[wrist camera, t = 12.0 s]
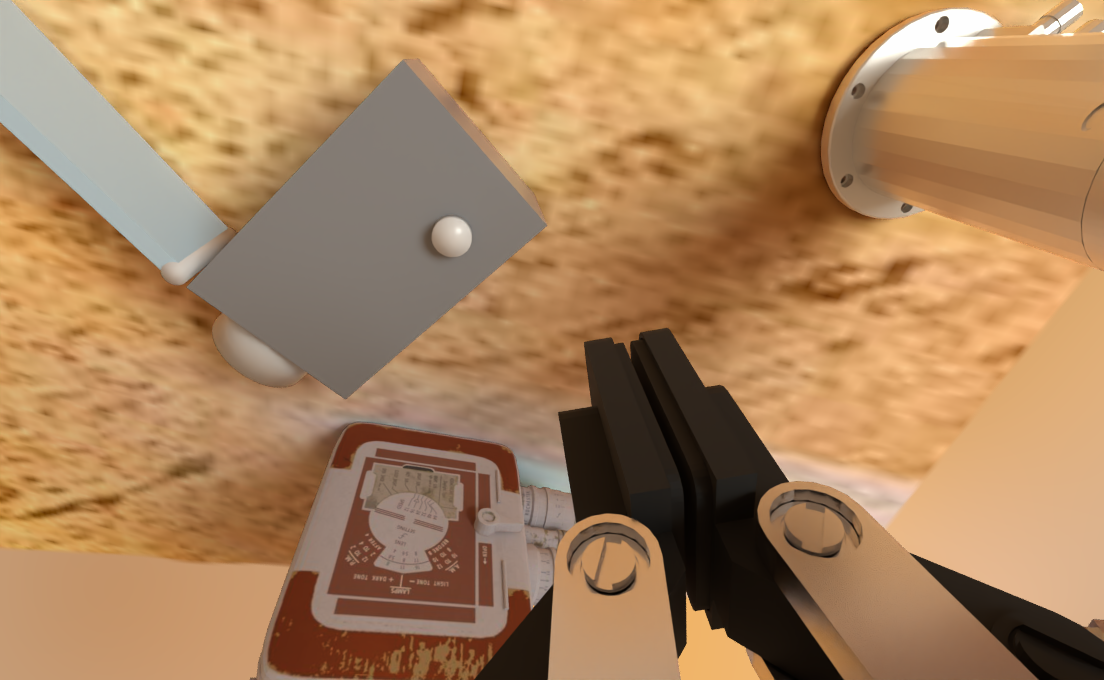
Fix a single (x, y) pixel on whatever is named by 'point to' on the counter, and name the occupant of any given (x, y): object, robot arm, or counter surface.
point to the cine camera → (413, 560)
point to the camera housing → (368, 241)
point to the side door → (101, 153)
